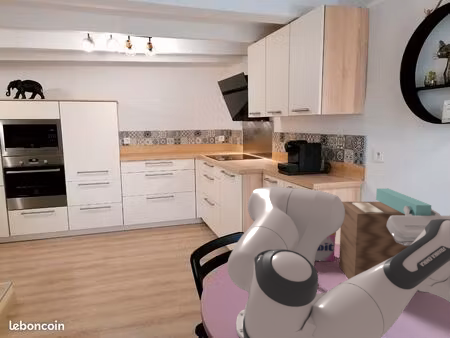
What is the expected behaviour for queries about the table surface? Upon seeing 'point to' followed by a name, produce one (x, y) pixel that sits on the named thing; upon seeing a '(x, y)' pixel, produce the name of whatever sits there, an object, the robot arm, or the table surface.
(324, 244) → the gum box
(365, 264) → the stand
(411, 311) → the table surface
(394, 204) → the beam
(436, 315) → the table surface
